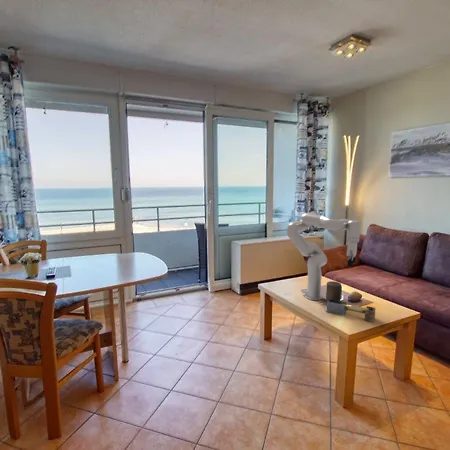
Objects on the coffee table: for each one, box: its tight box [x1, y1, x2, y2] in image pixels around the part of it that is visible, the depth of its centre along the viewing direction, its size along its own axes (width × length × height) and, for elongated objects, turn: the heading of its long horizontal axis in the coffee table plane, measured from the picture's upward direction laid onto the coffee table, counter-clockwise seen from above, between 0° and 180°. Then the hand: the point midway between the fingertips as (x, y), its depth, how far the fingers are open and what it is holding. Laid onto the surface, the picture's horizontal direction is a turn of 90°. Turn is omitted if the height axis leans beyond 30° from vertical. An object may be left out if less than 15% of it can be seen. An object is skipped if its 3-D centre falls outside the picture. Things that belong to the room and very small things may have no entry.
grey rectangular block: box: [325, 299, 348, 317], centre depth 197 cm, size 11×6×7 cm, turn 58°
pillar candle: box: [325, 281, 342, 303], centre depth 213 cm, size 10×10×15 cm
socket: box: [364, 305, 376, 323], centre depth 187 cm, size 5×7×7 cm
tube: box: [341, 303, 369, 315], centre depth 192 cm, size 16×4×4 cm, turn 58°
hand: (351, 264), depth 201 cm, fingers open, 9 cm apart
